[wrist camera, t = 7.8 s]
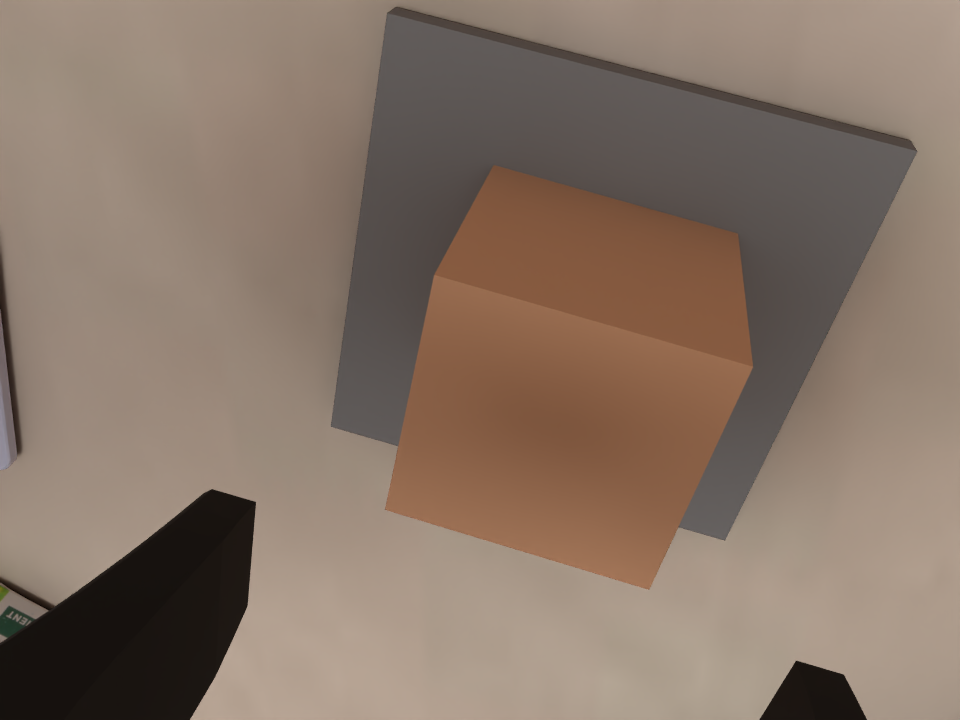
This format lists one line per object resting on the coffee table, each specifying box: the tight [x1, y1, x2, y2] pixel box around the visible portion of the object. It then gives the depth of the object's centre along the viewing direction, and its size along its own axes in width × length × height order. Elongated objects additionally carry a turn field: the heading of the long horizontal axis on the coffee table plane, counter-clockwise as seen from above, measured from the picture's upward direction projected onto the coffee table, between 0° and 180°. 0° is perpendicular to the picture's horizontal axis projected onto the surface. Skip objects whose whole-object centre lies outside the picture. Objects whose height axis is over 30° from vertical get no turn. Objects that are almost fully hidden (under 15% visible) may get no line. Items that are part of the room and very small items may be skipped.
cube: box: [385, 165, 753, 590], centre depth 17 cm, size 5×5×5 cm
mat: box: [331, 7, 917, 540], centre depth 19 cm, size 10×10×1 cm
